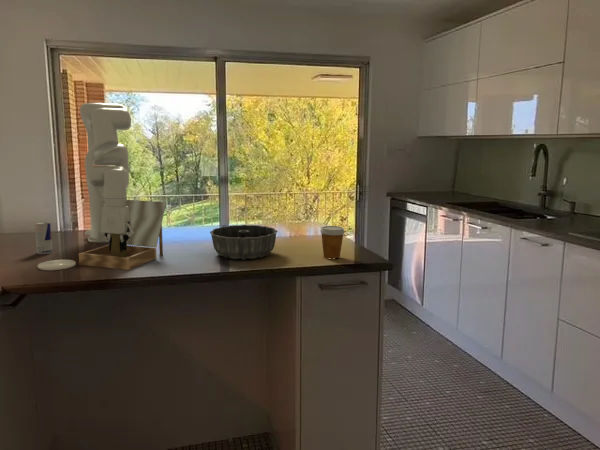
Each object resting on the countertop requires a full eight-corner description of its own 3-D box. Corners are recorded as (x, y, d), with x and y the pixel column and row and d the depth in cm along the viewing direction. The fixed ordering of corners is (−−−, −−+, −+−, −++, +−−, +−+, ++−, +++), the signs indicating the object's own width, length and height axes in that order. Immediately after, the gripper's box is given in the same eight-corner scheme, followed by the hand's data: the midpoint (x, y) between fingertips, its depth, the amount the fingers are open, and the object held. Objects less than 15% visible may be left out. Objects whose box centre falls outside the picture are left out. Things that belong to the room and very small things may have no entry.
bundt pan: (222, 266, 175) (222, 239, 173) (202, 251, 198) (201, 227, 196) (288, 259, 187) (288, 234, 185) (261, 245, 210) (261, 223, 208)
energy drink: (55, 252, 191) (53, 222, 189) (44, 255, 186) (42, 224, 184) (45, 250, 193) (42, 221, 191) (33, 253, 188) (31, 223, 186)
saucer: (29, 268, 167) (29, 266, 167) (56, 260, 179) (56, 258, 178) (57, 271, 164) (57, 269, 164) (83, 263, 175) (83, 261, 175)
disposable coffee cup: (346, 256, 193) (348, 227, 191) (338, 261, 184) (339, 230, 182) (324, 253, 197) (325, 224, 195) (315, 258, 188) (316, 228, 186)
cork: (112, 255, 182) (111, 226, 180) (129, 255, 183) (128, 226, 180) (107, 259, 176) (106, 229, 174) (124, 259, 177) (123, 230, 174)
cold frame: (79, 264, 174) (75, 207, 170) (123, 249, 198) (121, 199, 194) (127, 269, 168) (125, 210, 164) (167, 253, 192) (166, 201, 188)
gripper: (89, 202, 174) (92, 251, 178) (129, 205, 170) (131, 256, 173) (103, 199, 181) (106, 246, 185) (141, 202, 177) (143, 251, 180)
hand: (118, 250), depth 179 cm, fingers closed on cork, 3 cm apart
